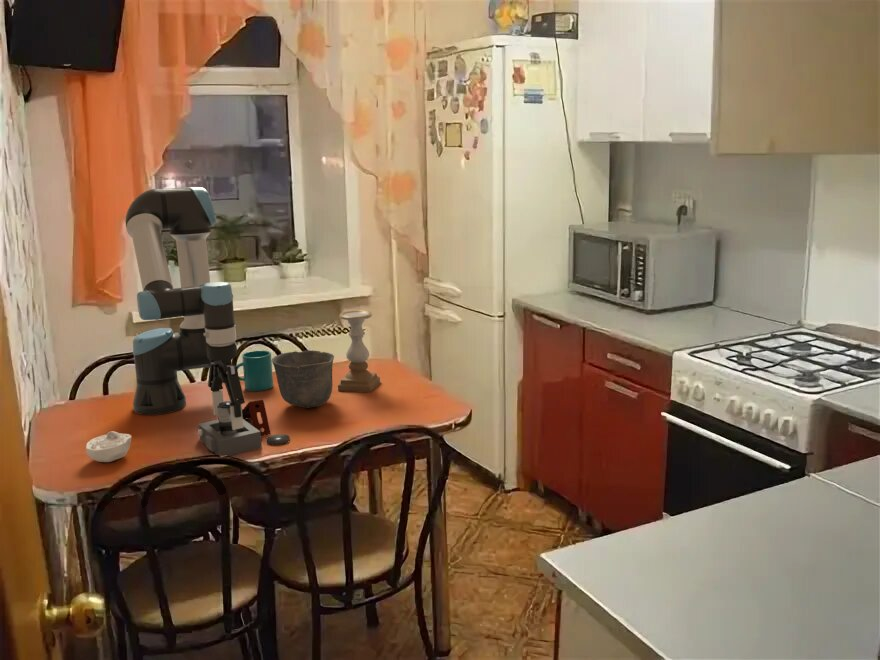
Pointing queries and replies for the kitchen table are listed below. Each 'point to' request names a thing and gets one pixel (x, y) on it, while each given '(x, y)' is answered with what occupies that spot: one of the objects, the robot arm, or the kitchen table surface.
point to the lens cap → (278, 439)
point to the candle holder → (357, 356)
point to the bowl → (304, 377)
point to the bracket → (251, 413)
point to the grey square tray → (229, 438)
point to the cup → (257, 370)
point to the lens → (225, 419)
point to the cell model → (108, 446)
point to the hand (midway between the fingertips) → (228, 421)
